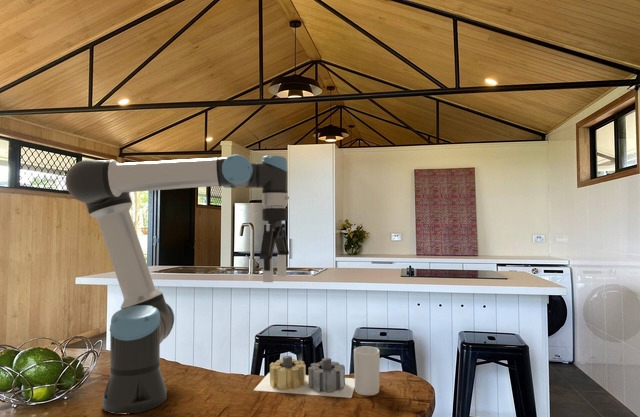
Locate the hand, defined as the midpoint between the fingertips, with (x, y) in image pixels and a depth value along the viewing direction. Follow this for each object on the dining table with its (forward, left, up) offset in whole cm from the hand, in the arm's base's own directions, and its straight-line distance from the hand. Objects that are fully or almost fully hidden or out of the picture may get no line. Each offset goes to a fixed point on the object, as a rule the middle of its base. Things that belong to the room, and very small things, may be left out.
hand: (275, 278), depth 129 cm
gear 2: (+17, -9, -27) cm, 33 cm away
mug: (+28, -8, -29) cm, 41 cm away
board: (+12, -9, -29) cm, 32 cm away
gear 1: (+6, -9, -27) cm, 29 cm away
